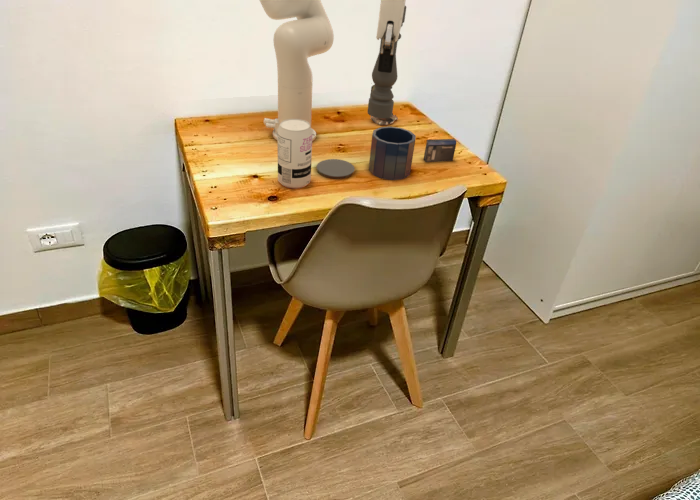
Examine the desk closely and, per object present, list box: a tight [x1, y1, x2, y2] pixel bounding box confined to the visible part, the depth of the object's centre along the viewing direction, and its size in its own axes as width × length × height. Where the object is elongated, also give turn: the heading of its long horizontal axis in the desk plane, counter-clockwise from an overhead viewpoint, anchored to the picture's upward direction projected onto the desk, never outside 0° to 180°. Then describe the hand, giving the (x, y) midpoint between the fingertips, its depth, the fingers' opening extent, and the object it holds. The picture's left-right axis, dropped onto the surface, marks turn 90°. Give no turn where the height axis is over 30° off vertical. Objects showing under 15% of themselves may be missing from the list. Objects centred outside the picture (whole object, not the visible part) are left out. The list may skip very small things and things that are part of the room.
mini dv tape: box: [423, 138, 457, 163], centre depth 146 cm, size 8×2×6 cm, turn 103°
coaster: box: [315, 158, 356, 180], centre depth 138 cm, size 10×10×1 cm
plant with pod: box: [369, 82, 399, 126], centre depth 162 cm, size 8×11×20 cm
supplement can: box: [277, 119, 313, 189], centre depth 127 cm, size 8×8×15 cm
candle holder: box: [367, 5, 407, 118], centre depth 124 cm, size 6×6×25 cm
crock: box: [368, 126, 417, 181], centre depth 137 cm, size 11×11×10 cm
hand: (385, 67), depth 124 cm, fingers closed on candle holder, 4 cm apart
